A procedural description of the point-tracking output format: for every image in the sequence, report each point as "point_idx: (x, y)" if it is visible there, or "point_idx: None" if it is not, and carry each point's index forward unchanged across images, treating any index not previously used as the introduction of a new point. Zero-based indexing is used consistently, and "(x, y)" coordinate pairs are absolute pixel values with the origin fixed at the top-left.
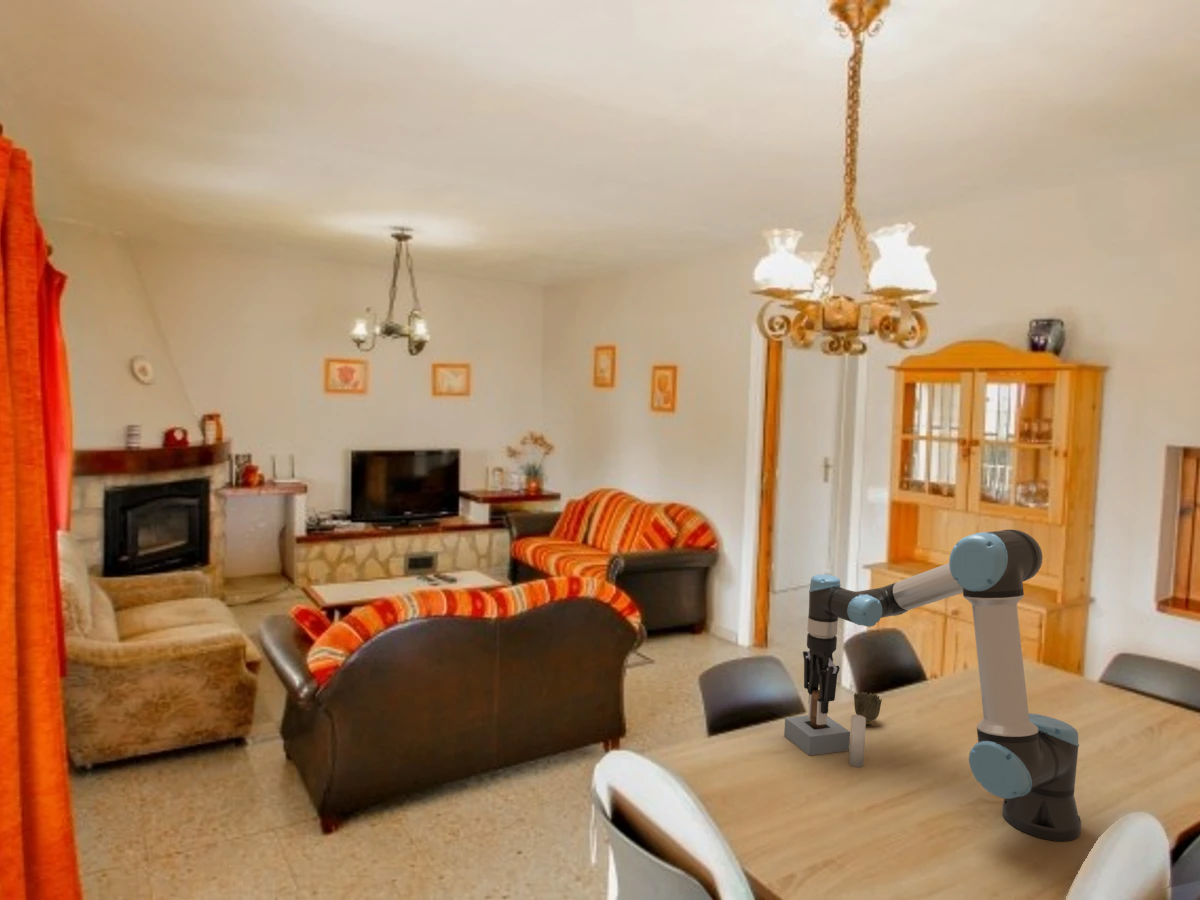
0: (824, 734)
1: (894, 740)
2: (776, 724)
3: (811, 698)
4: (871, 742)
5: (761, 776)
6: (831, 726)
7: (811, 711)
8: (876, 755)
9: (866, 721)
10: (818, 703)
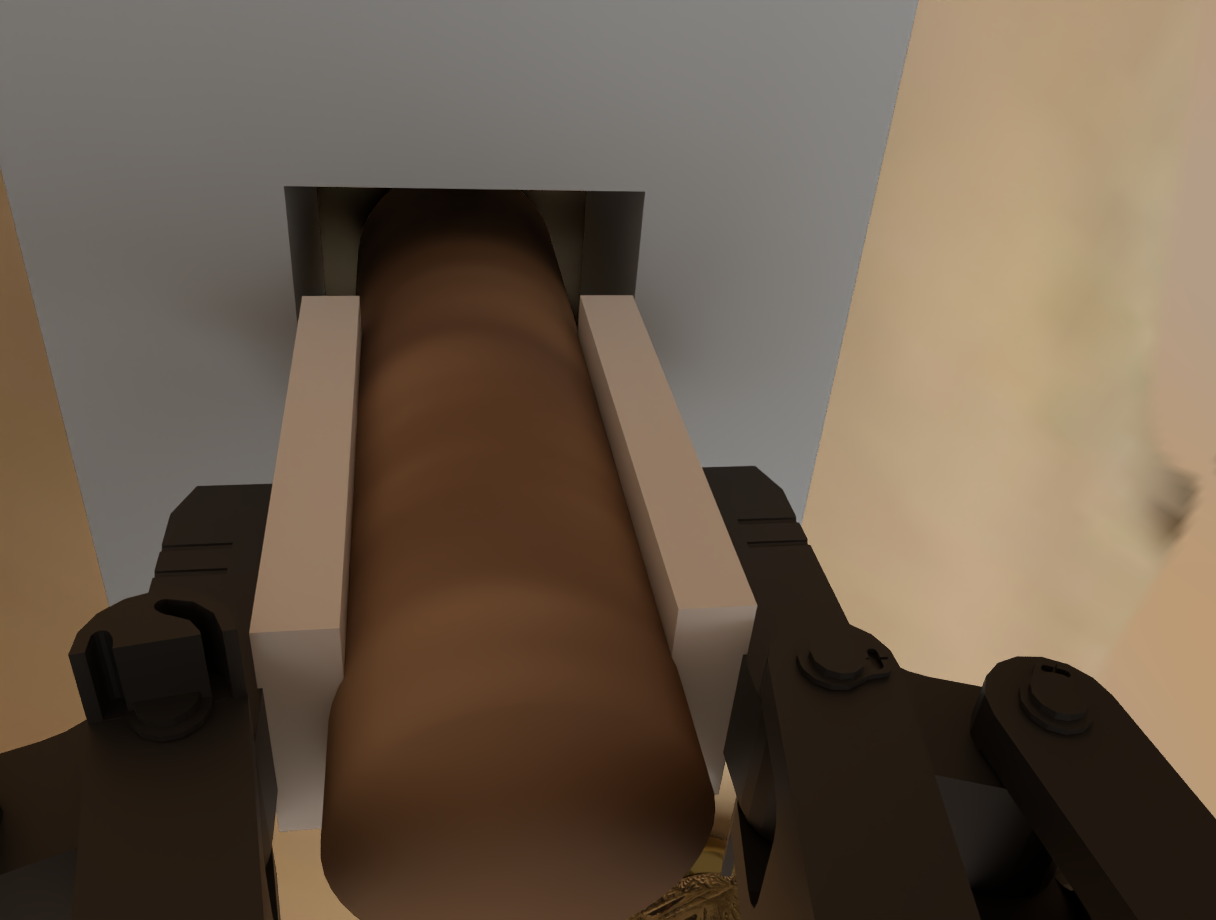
0: (35, 243)
1: (326, 913)
2: (1149, 19)
3: (656, 565)
4: None
5: None
6: None
7: (535, 373)
8: (13, 673)
9: None
10: (293, 572)
